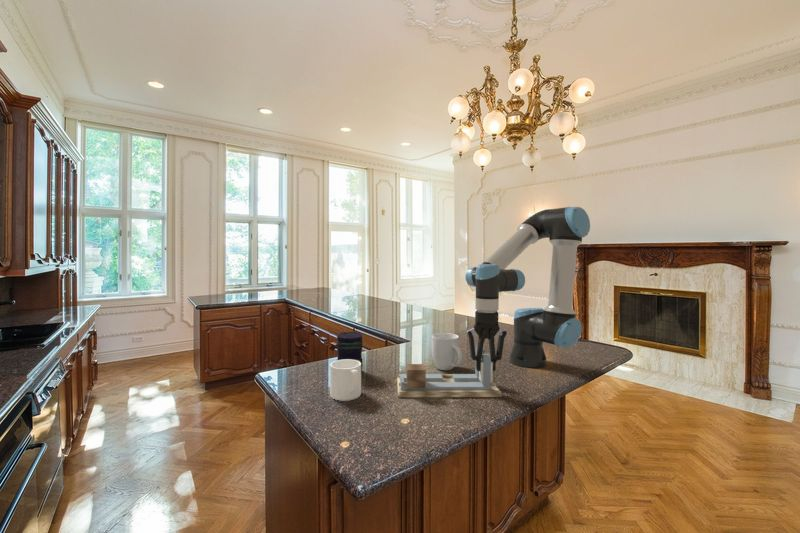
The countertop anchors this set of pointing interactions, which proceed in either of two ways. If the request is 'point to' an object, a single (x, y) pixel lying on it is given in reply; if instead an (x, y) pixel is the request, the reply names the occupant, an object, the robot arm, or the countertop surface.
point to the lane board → (448, 378)
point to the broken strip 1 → (427, 377)
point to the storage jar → (350, 346)
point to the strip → (458, 385)
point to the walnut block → (415, 376)
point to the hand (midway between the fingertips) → (485, 380)
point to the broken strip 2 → (467, 375)
